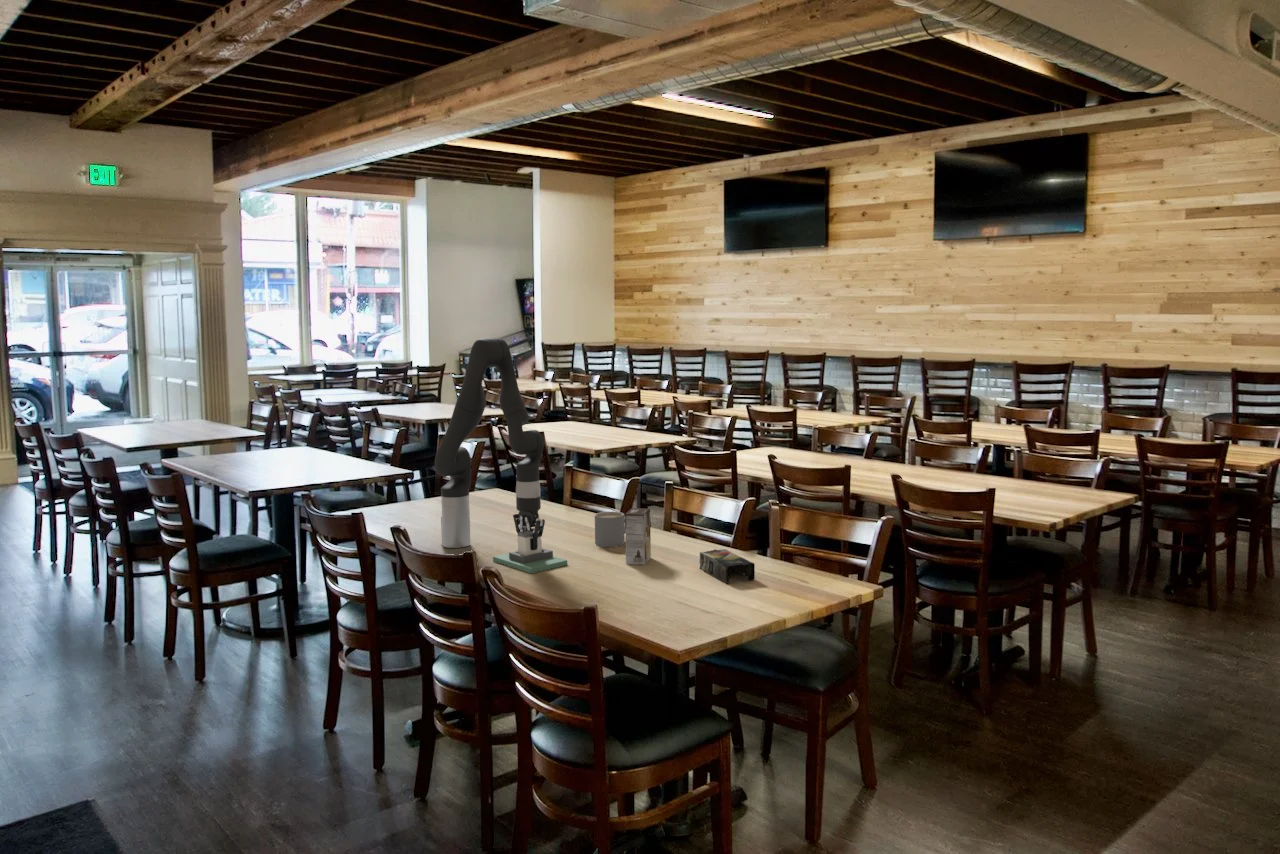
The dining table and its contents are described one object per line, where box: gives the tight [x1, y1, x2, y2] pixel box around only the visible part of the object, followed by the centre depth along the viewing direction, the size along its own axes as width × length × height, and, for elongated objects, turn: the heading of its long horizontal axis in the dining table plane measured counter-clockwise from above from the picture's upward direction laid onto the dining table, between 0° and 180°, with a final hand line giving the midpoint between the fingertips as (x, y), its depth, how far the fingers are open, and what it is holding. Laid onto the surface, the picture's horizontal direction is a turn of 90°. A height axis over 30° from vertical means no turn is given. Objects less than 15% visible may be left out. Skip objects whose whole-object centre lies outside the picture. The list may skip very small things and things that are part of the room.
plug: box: [517, 531, 543, 556], centre depth 305 cm, size 4×7×8 cm, turn 133°
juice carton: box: [699, 548, 756, 585], centre depth 291 cm, size 20×10×6 cm, turn 22°
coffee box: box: [624, 507, 652, 566], centre depth 306 cm, size 9×6×16 cm
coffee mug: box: [594, 511, 626, 548], centre depth 330 cm, size 13×10×10 cm
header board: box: [492, 547, 568, 574], centre depth 305 cm, size 20×14×4 cm
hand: (529, 548), depth 305 cm, fingers closed on plug, 4 cm apart
